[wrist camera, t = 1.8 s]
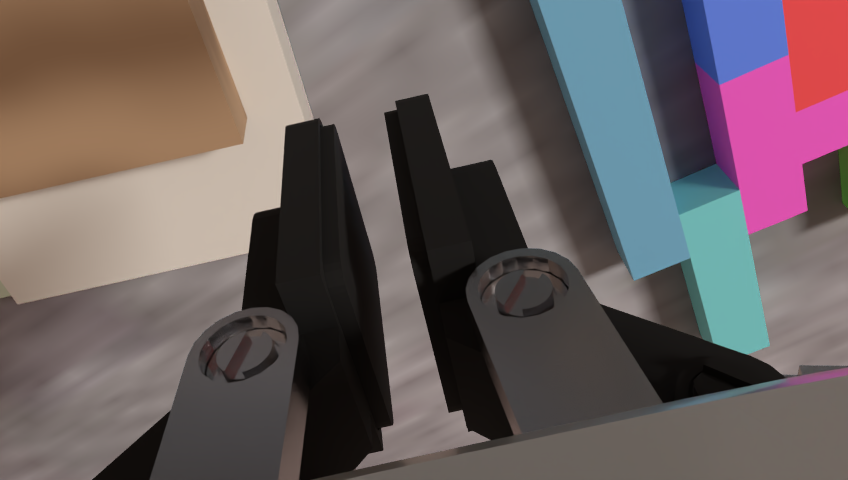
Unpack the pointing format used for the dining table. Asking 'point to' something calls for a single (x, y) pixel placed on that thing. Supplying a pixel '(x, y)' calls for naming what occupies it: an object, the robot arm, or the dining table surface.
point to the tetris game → (730, 133)
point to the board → (166, 184)
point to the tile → (109, 89)
